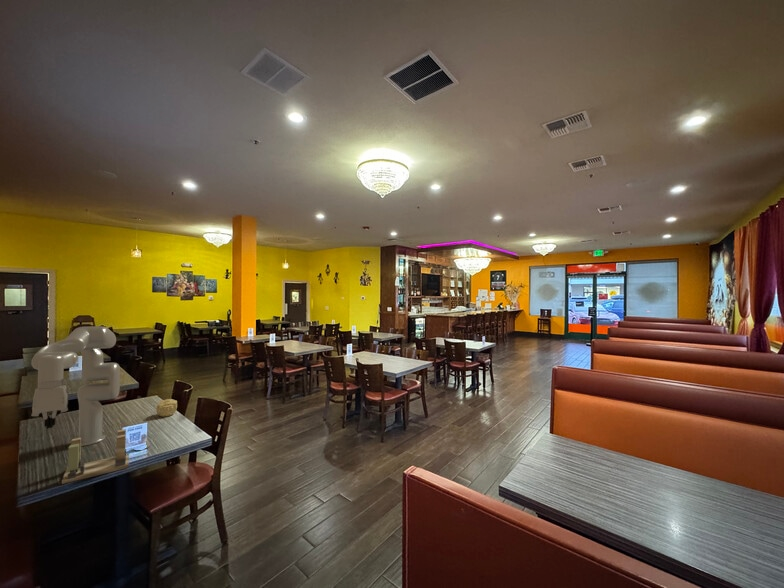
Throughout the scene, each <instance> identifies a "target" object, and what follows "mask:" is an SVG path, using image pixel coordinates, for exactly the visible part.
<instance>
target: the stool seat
mask: <svg viewBox="0 0 784 588" xmlns="http://www.w3.org/2000/svg"><path fill="white" fill-rule="evenodd" d="M126 431H127V429H126V428H125V429H119V430H117V437H116V451H115V456H110V457H106V458H102V459H98V460H93V461H89V462H85V463H82V462H83V461H82V458H81V457H82V446H81V438H79V437H76V438H73V439H71V441H70V445H75V444H79V462H78V469H76V472H73V473H71V471H68V466H67V467H66V470H65V472H64V474H63V477H62V480H61V484H62V485H63V484H68V483H72V482H76V481H80V480H84V479H88V478H92V477H97V476H100V475H105V474H109V473H112V472H117V471H120V470H121V471H122V470H124V469H129V468H130V467H129V466H130V453H129V454H128V453H127V449H126V437H127V436H126V435H127V434H126V433H127V432H126ZM126 454H127V455H126Z"/></svg>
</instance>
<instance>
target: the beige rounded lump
mask: <svg viewBox="0 0 784 588" xmlns="http://www.w3.org/2000/svg"><path fill="white" fill-rule="evenodd" d="M177 408H178V400H175V399H172V398H166V399H162V400H161V401H160V402H158V403H157V404H156V414H157V415H158V416H159V417H163V418H166V417H170V416H173V415H174V414H176V412H177Z"/></svg>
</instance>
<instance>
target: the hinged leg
mask: <svg viewBox="0 0 784 588" xmlns="http://www.w3.org/2000/svg"><path fill="white" fill-rule="evenodd" d="M67 457H68V460H67V467H68V471H71V473H73V472H76V469H78V462H79V444H75V445H71V444H70V445H69V446H68V456H67Z"/></svg>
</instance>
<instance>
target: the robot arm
mask: <svg viewBox="0 0 784 588" xmlns="http://www.w3.org/2000/svg"><path fill="white" fill-rule="evenodd" d="M116 343H117V338H116V334H115V333H114V332H113V331H112V330H110V329H109V328H108V327H106V326H102V325H101V326H97V325H96V326H79V327H77V328H75V329H73V331H71V332H70V333H69V335H68V336H66V338H64V339H62V340H58V341H56V342H52V343H49V344H48V345H45V346H43V347H41V348H40V349H39V350H38V351H37V352H36V353H35V354H34V356H33V357H32V359H31V367H32V368H33V369H35V370H37V388H35V391H34V394H33V398H32V407H31V411H32V412H31V417H40V418H42V419H43V420H44V427H46V430H47V429H52V428H53V427H54V426H55V425H56V419H57V418H56V417H58V416H59V415H60V414H62V413H64V412H65V413H66V412H67V411H69V408H68V404H69V400H68V399H69V397H68V389H67V388H68V387H67V385H66V384H68V383H69V380H68V379H65V378H64V372H65V369H66V370H67V369H71V368H73V367H74V366H76V364H77V363H78V362H79V355H78V354H79V353H81V357H82V370H81V375H82V376H81V377H82V380H83V381H84V382H92V383H86V384H83V385H81V386H80V387H79V388H78V389H77V391H76V393H77V394H76V395H77V401H78V410H79V411H78V438H81V447H82V446H84V447H85V446H90V445H95V444H98V443H100V442H103V441H105V439H107V438H106V437H107V436H106V434H103V415H104V414H103V411H104V408H103V405H102V404H101V402H100V401H106V400H107V401H108V400H113V399H116V398H117V397H118V396H119V394H120V391H121V390H120V389H121V387H120V385H121V367H120V364H119V363H117V362H104V353H103V351H102V350H101V349H111V348H113V347H114V346H115V345H116ZM96 381H97V382H96ZM99 381H106V382H99ZM93 382H94V383H93ZM51 412H52V414H51V416H50V415H49V413H51Z"/></svg>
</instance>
